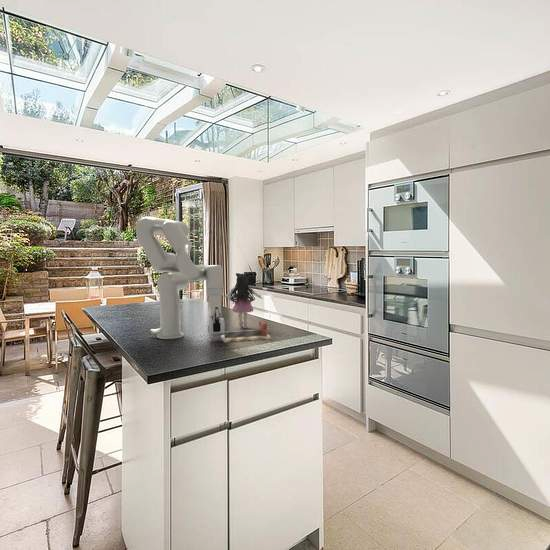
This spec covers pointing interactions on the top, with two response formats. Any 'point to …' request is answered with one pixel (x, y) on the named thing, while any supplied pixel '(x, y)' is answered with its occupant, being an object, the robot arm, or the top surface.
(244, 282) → the figurine
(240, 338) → the board
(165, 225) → the robot arm
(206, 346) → the top surface
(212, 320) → the lock block
